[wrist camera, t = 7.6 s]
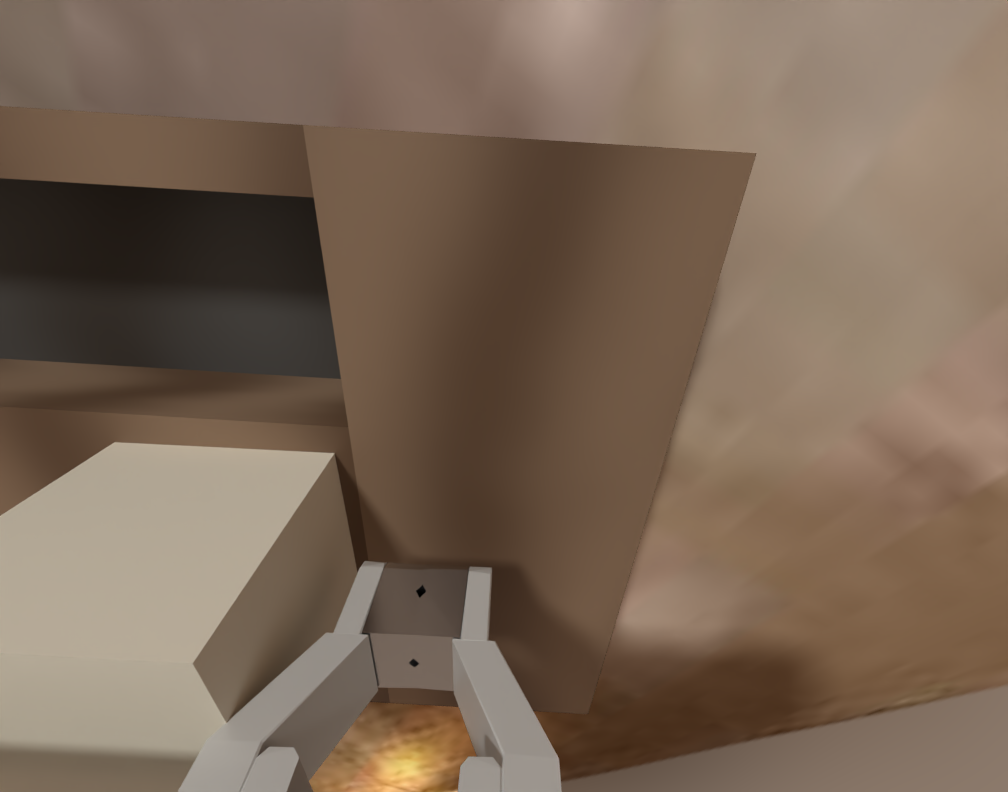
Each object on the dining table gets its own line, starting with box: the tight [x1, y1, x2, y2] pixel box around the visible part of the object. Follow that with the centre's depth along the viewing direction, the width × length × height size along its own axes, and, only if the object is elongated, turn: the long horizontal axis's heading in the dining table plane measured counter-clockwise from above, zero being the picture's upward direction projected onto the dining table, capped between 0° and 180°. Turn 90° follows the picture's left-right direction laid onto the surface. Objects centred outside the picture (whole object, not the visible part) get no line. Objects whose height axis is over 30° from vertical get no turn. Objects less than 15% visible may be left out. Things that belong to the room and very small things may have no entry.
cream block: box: [0, 442, 357, 792], centre depth 8 cm, size 5×5×4 cm
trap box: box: [0, 106, 756, 714], centre depth 10 cm, size 26×17×6 cm, turn 87°
